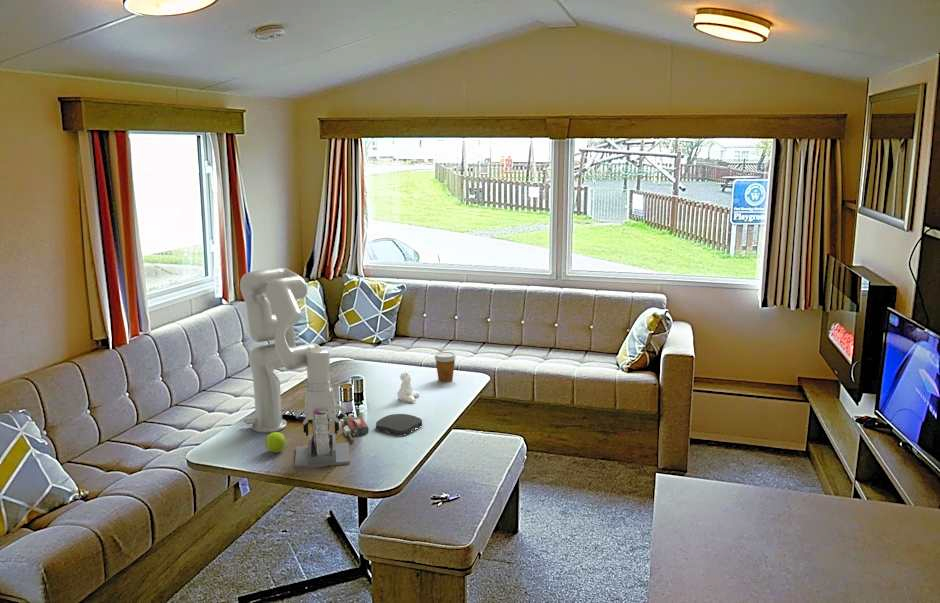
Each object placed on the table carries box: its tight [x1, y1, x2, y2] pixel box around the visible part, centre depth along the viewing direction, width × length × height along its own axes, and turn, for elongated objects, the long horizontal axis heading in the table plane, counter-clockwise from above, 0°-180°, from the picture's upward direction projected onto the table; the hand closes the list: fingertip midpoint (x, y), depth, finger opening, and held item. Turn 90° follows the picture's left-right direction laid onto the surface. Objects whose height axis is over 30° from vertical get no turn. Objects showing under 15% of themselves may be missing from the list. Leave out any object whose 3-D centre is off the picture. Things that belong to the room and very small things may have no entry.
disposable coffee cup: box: [434, 351, 457, 383], centre depth 339 cm, size 10×10×12 cm
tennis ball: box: [264, 431, 287, 453], centre depth 264 cm, size 7×7×7 cm
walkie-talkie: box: [343, 416, 369, 443], centre depth 281 cm, size 9×4×20 cm
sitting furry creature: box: [396, 371, 420, 404], centre depth 315 cm, size 10×9×12 cm
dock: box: [294, 432, 351, 469], centre depth 260 cm, size 18×16×5 cm
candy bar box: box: [311, 410, 331, 456], centre depth 258 cm, size 11×5×16 cm, turn 17°
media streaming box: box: [375, 413, 423, 436], centre depth 286 cm, size 15×15×3 cm
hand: (321, 433), depth 259 cm, fingers open, 9 cm apart
